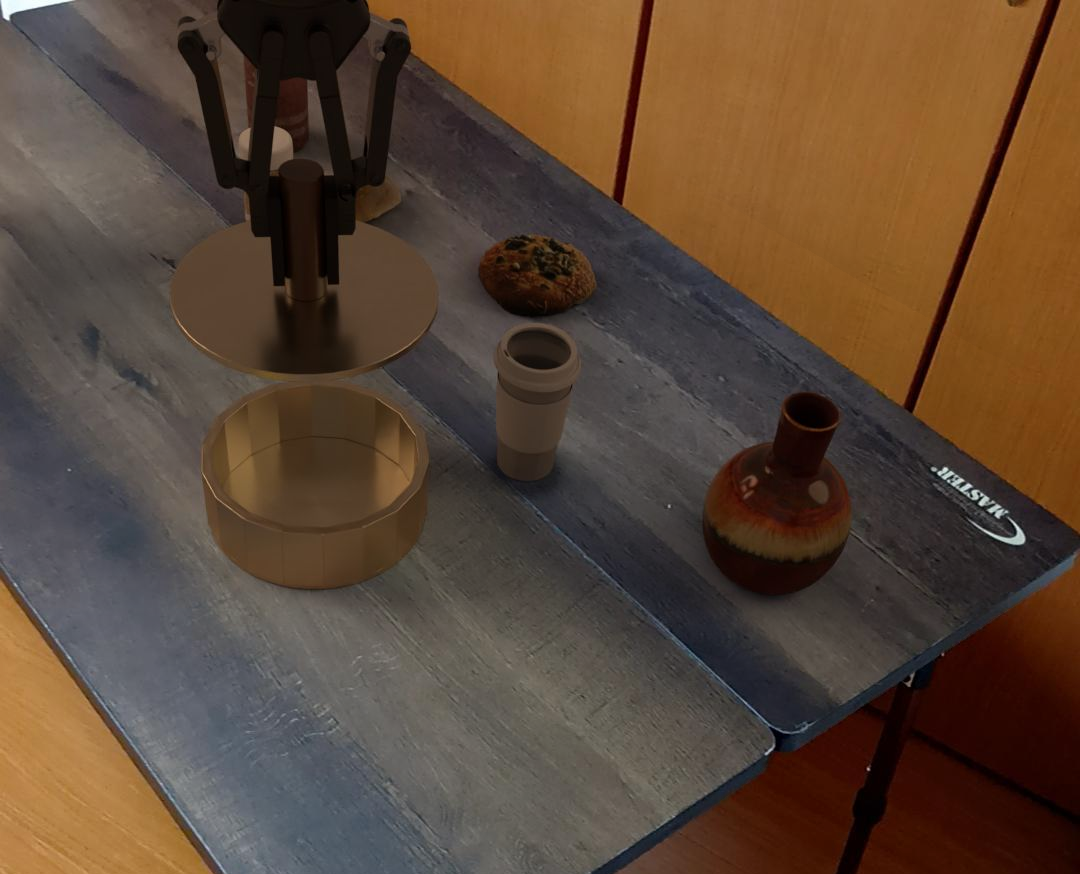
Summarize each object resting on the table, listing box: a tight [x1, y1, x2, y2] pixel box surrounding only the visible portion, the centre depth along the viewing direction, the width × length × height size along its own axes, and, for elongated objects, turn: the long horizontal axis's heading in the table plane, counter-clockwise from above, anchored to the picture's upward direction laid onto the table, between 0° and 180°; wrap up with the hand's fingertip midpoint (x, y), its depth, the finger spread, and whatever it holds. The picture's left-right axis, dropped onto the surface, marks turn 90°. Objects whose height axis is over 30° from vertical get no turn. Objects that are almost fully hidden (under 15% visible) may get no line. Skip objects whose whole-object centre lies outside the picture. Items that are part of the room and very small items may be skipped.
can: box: [242, 54, 310, 154], centre depth 132 cm, size 6×6×14 cm
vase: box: [702, 391, 853, 596], centre depth 98 cm, size 11×11×15 cm
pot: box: [200, 380, 430, 590], centre depth 100 cm, size 17×17×6 cm
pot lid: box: [169, 157, 439, 382], centre depth 85 cm, size 18×18×10 cm
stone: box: [331, 173, 402, 223], centre depth 127 cm, size 7×6×15 cm
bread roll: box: [477, 233, 597, 316], centre depth 124 cm, size 11×11×5 cm
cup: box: [492, 322, 582, 482], centre depth 104 cm, size 7×7×12 cm
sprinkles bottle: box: [238, 127, 294, 222], centre depth 118 cm, size 5×5×13 cm
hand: (305, 272), depth 87 cm, fingers closed on pot lid, 3 cm apart
